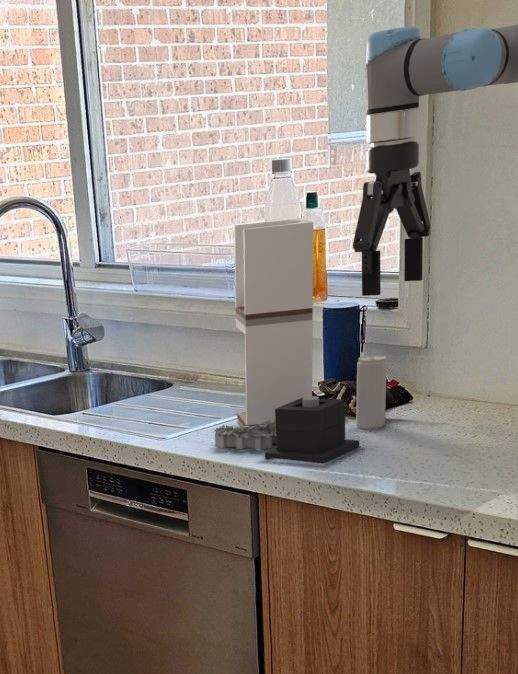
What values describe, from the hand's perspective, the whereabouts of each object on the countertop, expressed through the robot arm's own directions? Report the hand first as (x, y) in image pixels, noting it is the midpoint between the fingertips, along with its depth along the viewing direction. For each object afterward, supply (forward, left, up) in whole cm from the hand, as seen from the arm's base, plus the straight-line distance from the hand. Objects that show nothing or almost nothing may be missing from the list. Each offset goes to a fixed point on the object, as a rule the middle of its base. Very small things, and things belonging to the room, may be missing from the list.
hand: (392, 288), depth 193 cm
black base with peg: (+8, +12, -25) cm, 28 cm away
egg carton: (+22, +10, -25) cm, 34 cm away
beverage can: (+8, -7, -25) cm, 27 cm away
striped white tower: (+25, -3, -24) cm, 35 cm away
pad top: (+8, +12, -20) cm, 24 cm away
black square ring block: (+8, +12, -23) cm, 27 cm away
